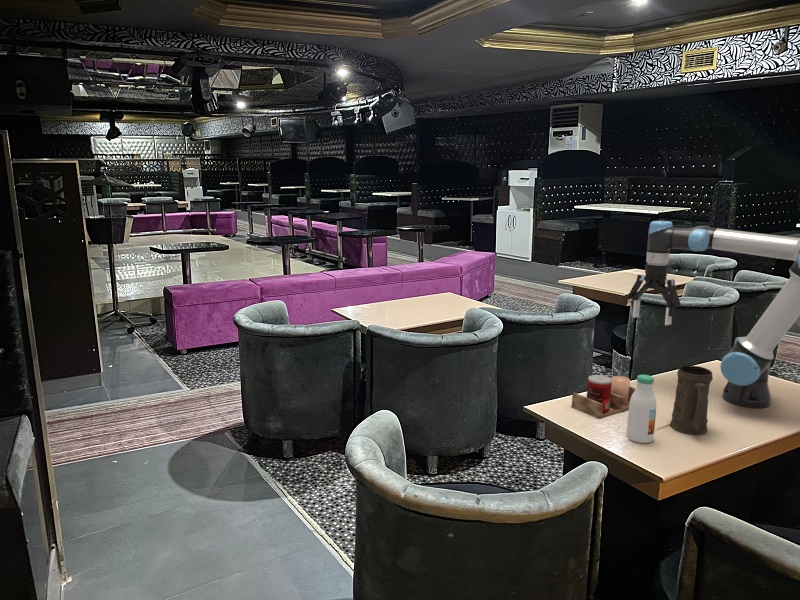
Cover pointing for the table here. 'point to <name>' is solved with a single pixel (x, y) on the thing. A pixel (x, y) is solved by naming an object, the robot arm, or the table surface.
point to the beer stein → (691, 400)
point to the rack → (596, 407)
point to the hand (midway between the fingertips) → (651, 320)
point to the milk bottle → (642, 411)
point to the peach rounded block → (621, 387)
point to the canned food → (600, 390)
